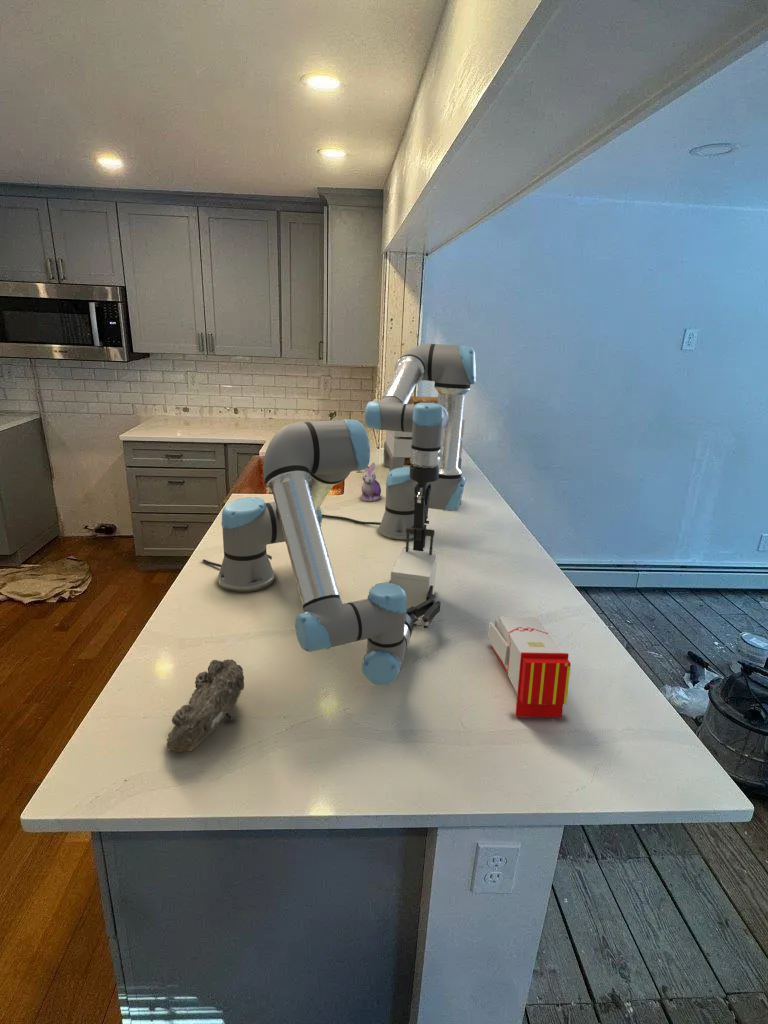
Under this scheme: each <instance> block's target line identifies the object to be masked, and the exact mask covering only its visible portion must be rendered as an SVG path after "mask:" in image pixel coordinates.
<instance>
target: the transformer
mask: <svg viewBox="0 0 768 1024" xmlns="http://www.w3.org/2000/svg"><path fill="white" fill-rule="evenodd" d="M418 403H436V404H438V396H415V395H414V396H413V395H411V397H410V400H409V402H408V404H415V405H416V404H418ZM464 429H465V419H464V418H462V429H461V439H460V450H459V460H458V468H459V469H460V470H461V471H462V461H463V460H462V453H463V442H464V441H463V440H462V439H463V438H464V431H465V430H464ZM411 445H412V433H411V432H401V431H389V430H385V438H384V442H383V466H384V467H388V468H389V472H390V471H391V470H393V469H396V468H401V467H405V466H406V467H410V465H411V464H412V463H411V462H410V455H411Z"/></svg>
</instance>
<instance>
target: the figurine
mask: <svg viewBox="0 0 768 1024" xmlns="http://www.w3.org/2000/svg"><path fill="white" fill-rule="evenodd" d="M375 468H376V462H372V463H371V465H370V466H369V465H368V466H367V468H366V469H364V470H363V471H364V472H363V474H362V481H363V483H362V485H361V496H360V498H361V500H362V501H364V502H373V501H377V500H380V499H381V495H382V487H381V484H380V482H379V481H378V480H376V479H377V476H376V473H375Z"/></svg>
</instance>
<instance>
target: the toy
mask: <svg viewBox="0 0 768 1024" xmlns="http://www.w3.org/2000/svg"><path fill="white" fill-rule="evenodd" d="M488 625H489V627H488V633H487V641H488V642H489V644H490V646H491V647H490V648H491V649H492V650H493V652H494V654H495V656H496V658H497V659H498V660H499V662H500V664H501V666H502V668H503V669H504V671H505V673H506V674H507V676H508V678H509V680H510V682H511V685H512V686H513V689H514V690H515V693H516V704H515V717H516V718H517V717H518V718H519V717H520V718H521V717H522V718H563V710H564V705H567V701H568V692H569V685H570V684H569V683H570V676H571V675H570V674H571V666H572V664H571V661H570V660H569V655H570V654H569V653H568V652H563V651H562V649H561V648H560V647H559V646H558V644H557V643H556V642H555V640H554V639H553V638H552V636H551V635H550V634H549V632H548V631H547V629H546V628H545V627H544V626H543V624H542V622H541V621H540V620H539V619H538V618H537V616H498V618H496V619H494V623H493V622H489V624H488Z"/></svg>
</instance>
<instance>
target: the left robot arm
mask: <svg viewBox="0 0 768 1024" xmlns="http://www.w3.org/2000/svg"><path fill="white" fill-rule="evenodd" d="M263 457H264V458H263V463H262V473H263V481H264V484H265V488H266V491H267V492H269V493H270V494H272V495H273V500H274V501H271V502H270V501H269V502H265V500H264V499H263V498H260V497H251V496H249V497H243V498H239V499H235V500H233V501H230V502H229V503H227V504H226V505H225V506H224V507H223V508H222V511H221V524H220V525H221V527H222V543H223V546H222V547H223V559H222V563H217V562H212V561H209V560H207V559H204V558H203V559H202V562H203V563H205V564H208V565H210V566H215V567H218V568H220V569H219V572H218V585H219V586H220V587H221V588H223V589H224V590H227V591H230V592H236V593H250V592H251V593H252V592H256V591H260V590H262V589H266V588H267V587H269V586H270V585H272V584H273V582H274V579H275V573H274V569H273V567H272V564H271V561H272V559H273V557H272V555H269V554H268V553H267V545H272V544H278V543H285V544H286V549H287V552H288V553H287V554H288V556H289V557H288V558H289V560H290V564H291V568H292V571H293V575H294V579H295V584H296V587H297V591H298V594H299V598H300V602H301V606H302V610H303V612H301V613H299V614H297V615H296V617H295V621H294V628H295V636H296V639H297V642H298V644H299V646H300V648H301V649H302V650H303V651H304V652H307V653H312V652H316V651H322V650H330V649H333V648H335V647H340V646H343V645H347V644H350V643H355V642H359V641H363V640H366V653H365V654H364V656H363V661H362V665H361V667H362V668H361V669H362V673H363V675H364V677H365V678H366V679H367V680H368V681H369V682H371V683H372V684H374V685H379V686H387V685H390V684H392V683H393V682H394V681H396V679H397V677H398V675H399V673H400V672H401V670H402V665H403V661H404V659H405V655H406V652H407V648H408V645H409V643H410V641H411V637H412V634H413V631H414V628H415V627H416V626H422V628H423V629H425V630H428V629H429V624H430V623H431V622H432V621H433V620H434V619H435V618H436V616H437V615H438V614H439V613H440V612H441V606H442V605H441V604H442V601H440V600H436V594H435V593H434V594H433V586H430V588H429V591H428V594H427V598H426V601H425V602H423V603H421V604H419V605H417V606H416V607H411V608H409V609H406V593H405V591H404V590H403V589H402V588H401V587H400V586H398V585H396V584H392V583H391V579H390V580H389V582H379V583H376V584H374V585H373V586H371V587H370V589H368V590H369V591H368V595H367V598H366V599H360V600H356V601H352V602H347V603H343V602H342V598H341V595H340V591H339V587H338V585H337V581H336V577H335V573H334V570H333V567H332V564H331V560H330V559H331V558H330V555H329V552H328V549H327V545H326V542H325V537H324V534H323V531H322V523H323V517H322V509H321V505H322V503H324V500H325V499H326V498H327V496H328V494H329V493H330V492H331V490H332V489H333V487H334V486H335V485H338V484H341V483H342V482H344V481H346V479H347V478H348V477H349V475H350V474H351V472H356V471H357V472H361V471H365V470H364V469H366V468H367V466H368V467H369V464H370V461H371V460H370V459H371V446H370V440H369V435H368V433H367V430H366V428H365V426H364V425H363V423H362V422H360V420H357V419H346V418H344V419H335V420H334V419H333V420H320V421H319V420H318V421H317V420H316V421H296V422H292V423H288V424H287V425H285V426H283V427H282V428H281V429H279V430H278V431H276V433H275V434H274V435H273V436H272V438H271V439H270V442H269V443H268V445H267V447H266V450H265V453H264V456H263ZM270 560H271V561H270ZM420 616H422V617H421V618H420V619H417V618H418V617H420Z"/></svg>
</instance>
